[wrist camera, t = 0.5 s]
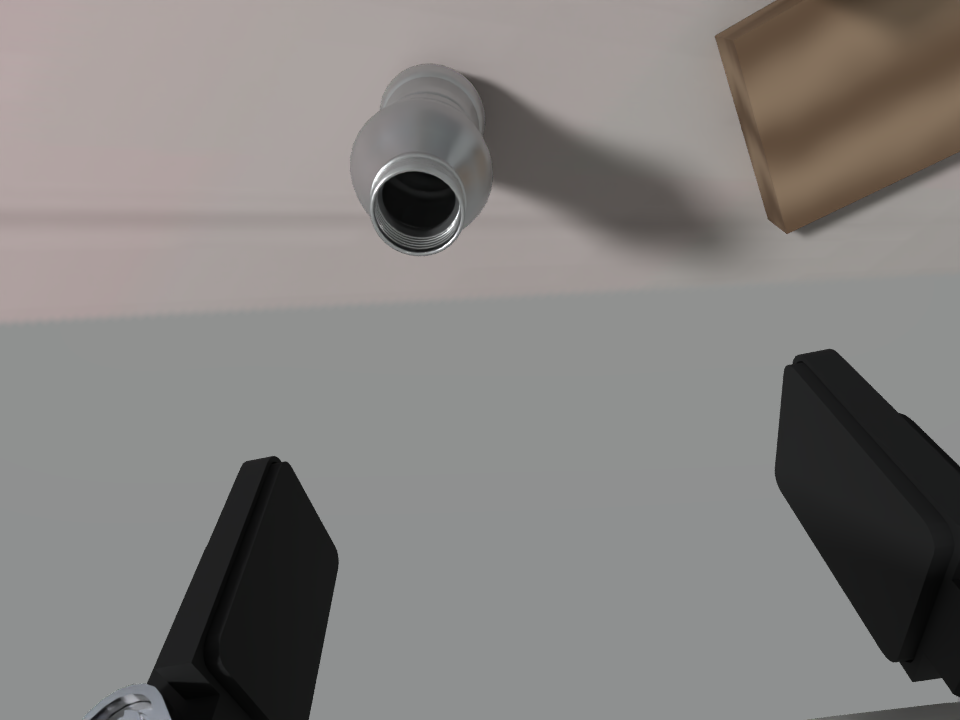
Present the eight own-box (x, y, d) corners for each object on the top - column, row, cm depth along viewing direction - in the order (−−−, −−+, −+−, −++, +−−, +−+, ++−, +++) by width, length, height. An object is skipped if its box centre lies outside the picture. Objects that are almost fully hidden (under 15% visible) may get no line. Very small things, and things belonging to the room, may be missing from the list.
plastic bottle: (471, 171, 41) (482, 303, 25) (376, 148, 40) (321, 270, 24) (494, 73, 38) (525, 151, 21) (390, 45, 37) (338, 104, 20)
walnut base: (714, 35, 37) (733, 40, 35) (948, -99, 34) (987, -105, 31) (768, 219, 44) (787, 234, 42) (966, 122, 41) (999, 132, 38)
